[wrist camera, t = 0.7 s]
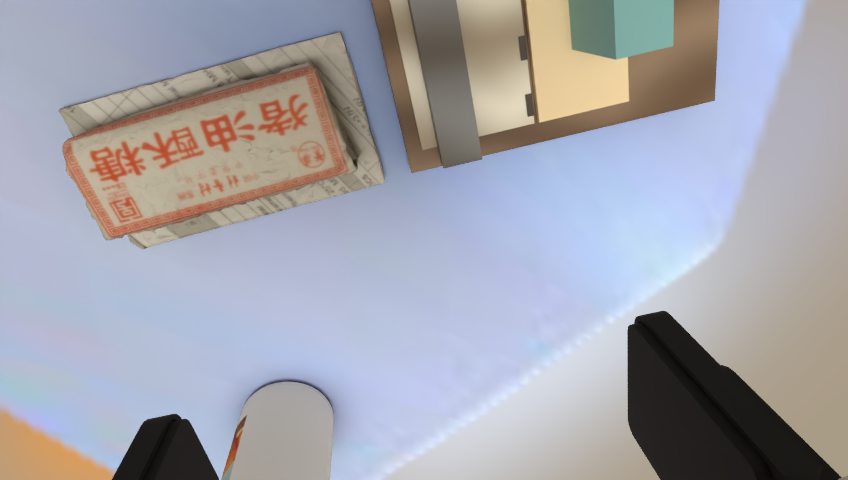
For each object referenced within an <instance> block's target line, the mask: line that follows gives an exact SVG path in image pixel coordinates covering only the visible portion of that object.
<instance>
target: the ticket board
mask: <svg viewBox="0 0 848 480" xmlns="http://www.w3.org/2000/svg"><path fill="white" fill-rule="evenodd" d="M371 1H372V6H373V10H374V14H375V19H376V23H377V27H378V31H379V36H380V40H381V44H382V49H383V53H384V57H385V61H386V66H387V70H388V74H389V79H390V83H391V87H392V91H393V96H394V100H395V104H396V109H397V113H398V117H399V121H400V126H401V130H402V134H403V139H404V143H405V147H406V151H407V156H408V160H409V164H410V168H411V172H412V173H414V172H418V171H422V170H426V169H430V168H434V167H439V166H443V168H447V167H451V166H456V165H460V164H464V163H468V162H472V161H477V160H481V159H482V156H485V155H489V154H493V153H497V152H501V151H506V150H510V149H514V148H518V147H522V146H527V145H531V144H535V143H539V142H543V141H547V140H552V139H556V138H560V137H564V136H568V135H573V134H577V133H581V132H585V131H589V130H593V129H598V128H602V127H606V126H610V125H614V124H619V123H623V122H627V121H631V120H635V119H639V118H644V117H648V116H652V115H656V114H660V113H665V112H669V111H673V110H677V109H681V108H686V107H690V106H694V105H698V104H702V103H706V102H711V101H715V83H716V61H717V40H718V18H719V0H674V35H673V46H672V47H668V48H663V49H659V50H655V51H651V52H647V53H642V54H638V55H634V56H630V57H628V79H629V101H628V102H624V103H620V104H616V105H611V106H607V107H603V108H599V109H595V110H590V111H586V112H582V113H578V114H574V115H569V116H565V117H561V118H557V119H553V120H549V121H544V122H540V123H539V122H538V121H537V116H536V107H535V98H534V89H533V80H532V71H531V62H530V53H529V44H528V34H527V25H526V16H525V7H524V0H371Z"/></svg>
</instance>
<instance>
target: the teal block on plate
mask: <svg viewBox="0 0 848 480" xmlns="http://www.w3.org/2000/svg"><path fill="white" fill-rule="evenodd" d="M524 7H525V16H526V25H527V34H528V44H529V53H530V62H531V71H532V80H533V89H534V98H535V107H536V116H537V121H538V122H539V123H540V122H544V121H549V120H553V119H557V118H561V117H565V116H569V115H574V114H578V113H582V112H586V111H590V110H595V109H599V108H603V107H607V106H611V105H616V104H620V103H624V102H628V101H629V79H628V57H630V56H634V55H638V54H642V53H647V52H651V51H655V50H659V49H663V48H668V47H672V46H673V35H674V0H524Z"/></svg>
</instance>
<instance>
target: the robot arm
mask: <svg viewBox="0 0 848 480" xmlns="http://www.w3.org/2000/svg"><path fill="white" fill-rule="evenodd" d="M628 422H629V426H630V429H631V432H632V434H633V436H634V438H635V439H636V441H637V443H638V444H639V446H640V447H641V449H642V451H643V452H644V454H645V455H646V457H647V459H648V460H649V462H650V463H651V465H652V467H653V468H654V470H655V471H656V473H657V475H658V476H659V478H660V479H661V480H848V476H846V477H843V478H841V477H840V476H839V475H838V474H837V473H836V472H835V471H834V470H833V469H832V468H831V467H830V466H829V465H828V464H827V463H826V462H825V461H824V460H823V459H822V458H821V457H820V456H819V455H818V454H817V453H816V452H815V451H814V450H813V449H812V448H811V447H810V446H809V445H808V444H807V443H806V442H805V441H804V440H803V439H802V438H801V437H800V436H799V435H798V434H797V433H796V432H795V431H794V430H793V429H792V428H791V427H790V426H789V425H788V424H787V423H786V422H785V421H784V420H783V419H782V418H781V417H780V416H779V415H778V414H777V413H776V412H775V411H774V410H773V409H772V408H771V407H770V406H769V405H768V404H766V402H764V401H763V400H762V399H761V398H760V397H759V396H758V395H757V394H756V393H755V392H754V391H753V390H752V389H751V388H750V387H749V386H748V385H747V384H746V383H745V382H744V381H743V380H742V379H741V378H740V377H739V376H738V375H737V374H736V373H735V372H734V371H733V370H731V369H730V368H729V367H726V366H723V365H721V366H720V365H719V364H718V363H717V362H716V361H715V359H714V358H712V357H711V356H710V354H709V353H708V352H707V351H705V350H704V348H703V347H702V346H701V345H699V344H698V342H697V341H696V340H695V339H694V338H692V337H691V335H690V334H689V333H688V332H687V331H686V330H685V329H684V328H683V327H682V326H681V325H680V324H679V323H678V322H677V321H676V320H675V319H674V318H673V317H672V316H671V315H670V314H669V313H667V312H666V311H660V312H656V313H651V314H646V315H641V316H638V317H636V319H635V323H634V324H632V325H630V326H629V327H628ZM112 480H219V478H218V476H217V474H216V472H215V470H214V468H213V466H212V464H211V462H210V460H209V458H208V456H207V454H206V453H205V451H204V449H203V447H202V445H201V443H200V441H199V439H198V437H197V435H196V433H195V431H194V429H193V427H192V425H191V423H190V422H189V420H187V419H181V417H180V416H179V415H177V414H171V415H166V416H162V417H157V418H152V419H148V420H146V421H144V423H143V424H142V425H141V427H140V429H139V431H138V432H137V434H136V436H135V438H134V440H133V442H132V443H131V445H130V447H129V449H128V451H127V453H126V455H125V456H124V458H123V460H122V462H121V464H120V466H119V467H118V469H117V471H116V473H115V475H114V477H113V479H112Z"/></svg>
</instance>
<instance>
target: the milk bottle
mask: <svg viewBox="0 0 848 480" xmlns="http://www.w3.org/2000/svg"><path fill="white" fill-rule="evenodd" d="M333 423H334V415H333V410H332V407H331V405H330V403H329V402H328V400H327V399H326V398H325V396H324V395H323V394H322V393H320V392H319V391H318V390H317V389H315V388H313V387H311V386H309V385H306V384H303V383H298V382H277V383H274V384H270V385H267V386H265V387H263V388H261V389H260V390H258V391H257V392H255V393H254V394H253V395H252V396H251V397H250V398H249V399H248V400H247V402H246V403H245V405H244V407H243V410H242V413H241V416H240V419H239V422H238V425H237V429H236V432H235V435H234V439H233V442H232V445H231V449H230V452H229V456H228V459H227V462H226V466H225V469H224V472H223V476H222V479H221V480H330V469H331V455H332V441H333Z"/></svg>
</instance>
